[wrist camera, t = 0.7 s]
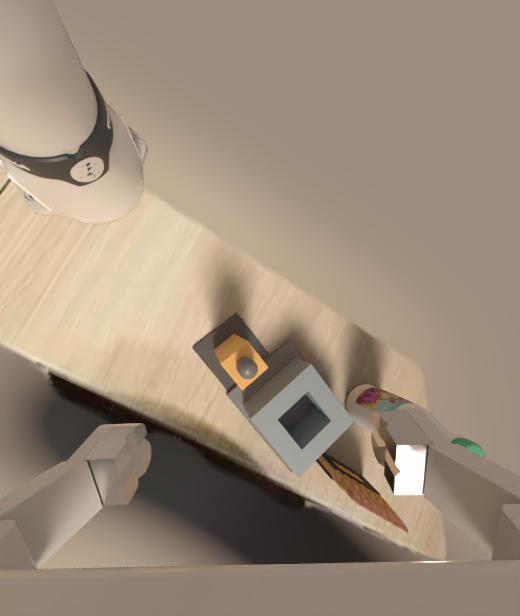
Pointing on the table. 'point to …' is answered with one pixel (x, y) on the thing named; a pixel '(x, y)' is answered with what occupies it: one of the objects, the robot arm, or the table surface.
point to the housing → (292, 409)
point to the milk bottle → (376, 399)
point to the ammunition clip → (359, 490)
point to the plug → (240, 360)
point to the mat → (218, 337)
